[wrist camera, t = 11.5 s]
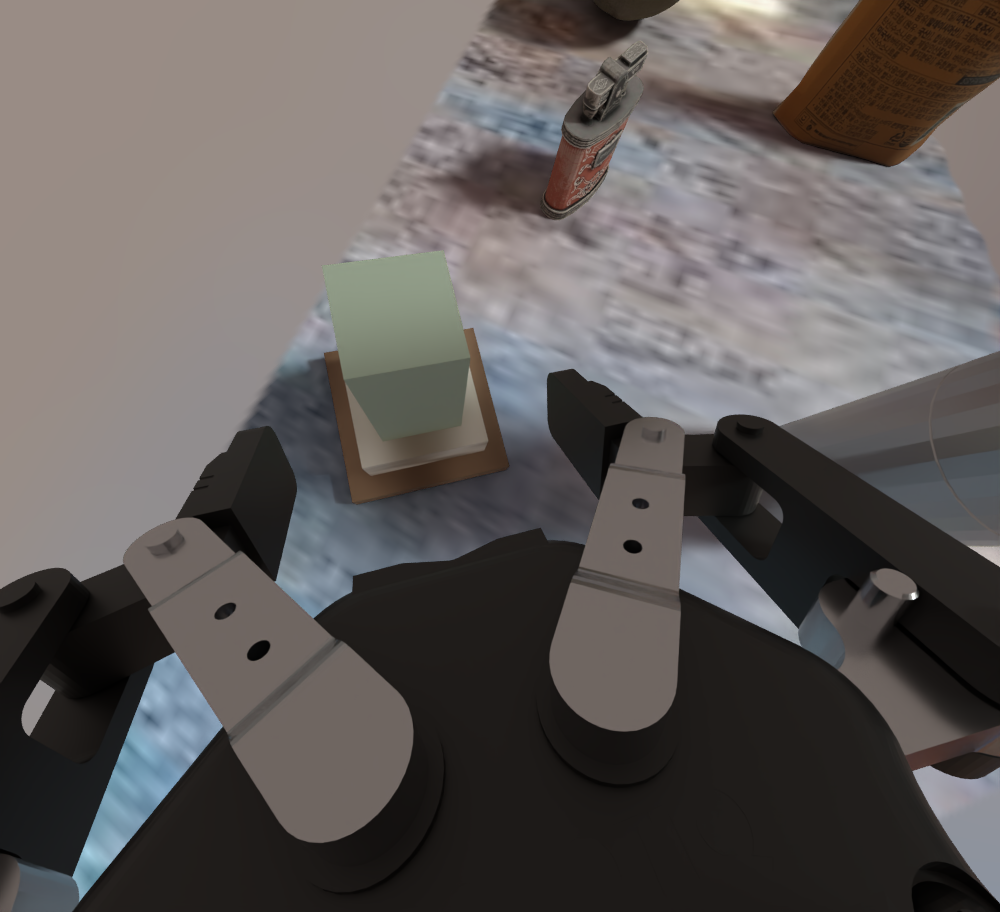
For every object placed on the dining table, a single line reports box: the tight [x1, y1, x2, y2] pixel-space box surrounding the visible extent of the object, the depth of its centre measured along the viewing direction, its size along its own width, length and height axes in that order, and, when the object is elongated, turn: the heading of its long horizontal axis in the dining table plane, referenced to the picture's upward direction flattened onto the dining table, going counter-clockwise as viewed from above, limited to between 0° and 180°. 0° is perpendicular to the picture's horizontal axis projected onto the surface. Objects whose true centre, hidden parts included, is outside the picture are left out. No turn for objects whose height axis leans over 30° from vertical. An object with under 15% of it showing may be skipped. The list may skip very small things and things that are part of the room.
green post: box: [322, 250, 470, 441], centre depth 21 cm, size 5×5×10 cm
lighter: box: [540, 41, 648, 220], centre depth 32 cm, size 8×3×10 cm, turn 140°
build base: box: [324, 328, 509, 504], centre depth 28 cm, size 11×11×4 cm
